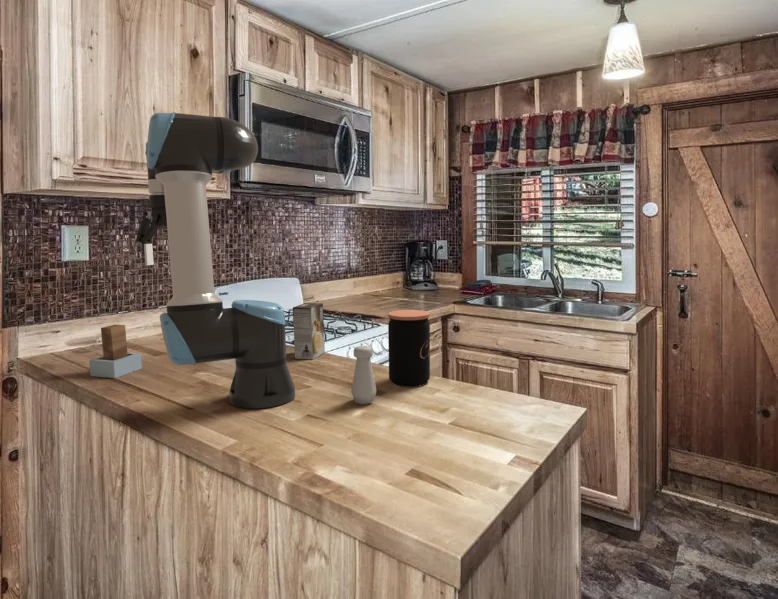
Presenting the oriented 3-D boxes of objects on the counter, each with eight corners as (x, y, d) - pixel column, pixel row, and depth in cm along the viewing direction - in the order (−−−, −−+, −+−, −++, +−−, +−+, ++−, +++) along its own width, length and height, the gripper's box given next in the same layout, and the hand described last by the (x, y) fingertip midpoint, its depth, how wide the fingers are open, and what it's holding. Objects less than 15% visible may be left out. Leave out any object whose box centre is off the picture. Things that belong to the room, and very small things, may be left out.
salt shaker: (367, 407, 118) (366, 350, 116) (346, 403, 121) (345, 347, 119) (381, 400, 123) (380, 345, 121) (361, 396, 126) (359, 342, 124)
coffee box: (306, 351, 170) (305, 302, 168) (325, 352, 169) (323, 303, 166) (294, 358, 162) (292, 306, 159) (313, 360, 160) (311, 307, 158)
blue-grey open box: (141, 368, 153) (140, 353, 152) (114, 378, 143) (113, 362, 143) (118, 366, 155) (117, 351, 154) (90, 375, 146) (89, 360, 145)
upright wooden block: (128, 366, 151) (125, 325, 149) (114, 371, 146) (110, 328, 144) (118, 365, 152) (115, 324, 150) (104, 370, 147) (100, 327, 145)
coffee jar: (427, 388, 131) (427, 317, 128) (385, 386, 133) (384, 316, 130) (432, 376, 141) (432, 310, 139) (393, 374, 143) (392, 309, 141)
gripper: (205, 194, 159) (210, 264, 162) (138, 196, 166) (143, 263, 169) (189, 192, 151) (194, 266, 154) (119, 195, 159) (125, 265, 162)
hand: (167, 265), depth 162 cm, fingers open, 13 cm apart
